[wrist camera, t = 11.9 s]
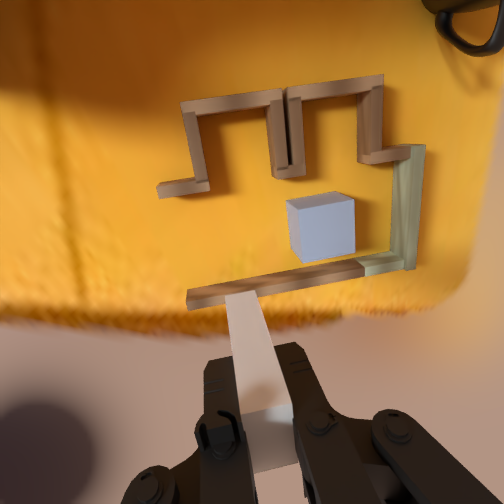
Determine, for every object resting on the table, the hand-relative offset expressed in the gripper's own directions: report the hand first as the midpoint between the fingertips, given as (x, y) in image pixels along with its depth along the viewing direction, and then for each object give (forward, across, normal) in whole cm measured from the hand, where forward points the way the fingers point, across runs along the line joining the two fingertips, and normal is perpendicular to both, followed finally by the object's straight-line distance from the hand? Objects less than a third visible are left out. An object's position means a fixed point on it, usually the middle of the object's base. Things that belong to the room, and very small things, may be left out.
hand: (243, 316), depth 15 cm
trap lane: (+21, +8, 0) cm, 22 cm away
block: (+21, +11, -3) cm, 24 cm away
